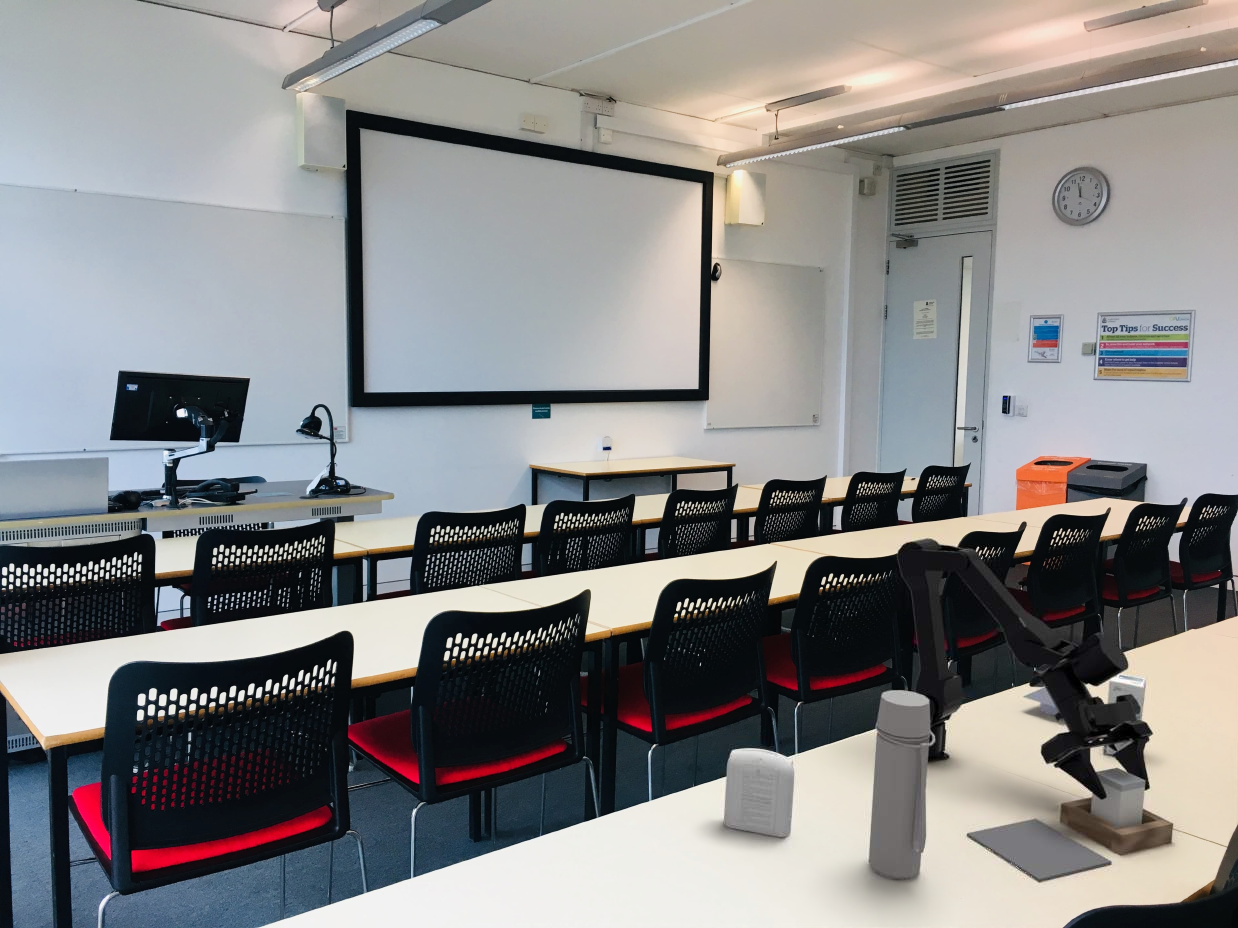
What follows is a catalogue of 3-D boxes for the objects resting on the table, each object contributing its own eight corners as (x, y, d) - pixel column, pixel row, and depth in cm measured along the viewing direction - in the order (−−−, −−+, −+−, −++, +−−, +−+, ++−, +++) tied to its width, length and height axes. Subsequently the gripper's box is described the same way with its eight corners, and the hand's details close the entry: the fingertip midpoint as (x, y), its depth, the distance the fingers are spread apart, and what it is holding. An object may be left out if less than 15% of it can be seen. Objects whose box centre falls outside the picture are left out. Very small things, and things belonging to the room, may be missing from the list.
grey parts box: (1116, 842, 149) (1122, 785, 148) (1089, 827, 154) (1094, 771, 153) (1140, 836, 151) (1145, 780, 150) (1112, 822, 156) (1117, 767, 155)
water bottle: (855, 861, 141) (865, 692, 138) (899, 851, 144) (910, 686, 141) (897, 894, 132) (909, 714, 130) (943, 883, 136) (955, 708, 133)
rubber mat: (1039, 881, 137) (1039, 878, 137) (966, 835, 150) (966, 832, 150) (1111, 863, 142) (1111, 861, 142) (1035, 820, 155) (1035, 818, 155)
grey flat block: (793, 827, 150) (797, 750, 149) (789, 840, 146) (793, 760, 145) (726, 816, 153) (730, 740, 152) (721, 828, 149) (724, 750, 148)
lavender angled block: (1063, 726, 197) (1095, 713, 205) (1065, 693, 196) (1098, 681, 204) (1021, 712, 204) (1054, 700, 212) (1023, 680, 203) (1056, 670, 211)
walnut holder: (1119, 854, 145) (1121, 835, 145) (1059, 821, 155) (1061, 803, 155) (1171, 842, 150) (1173, 823, 149) (1109, 810, 160) (1111, 792, 159)
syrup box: (1139, 751, 185) (1146, 676, 183) (1136, 762, 180) (1143, 685, 178) (1106, 744, 188) (1112, 670, 186) (1102, 754, 183) (1109, 678, 181)
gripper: (1061, 683, 150) (1117, 782, 141) (1147, 670, 157) (1206, 764, 148) (1017, 715, 158) (1068, 810, 149) (1101, 702, 165) (1154, 792, 156)
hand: (1126, 793), depth 150 cm, fingers open, 9 cm apart
